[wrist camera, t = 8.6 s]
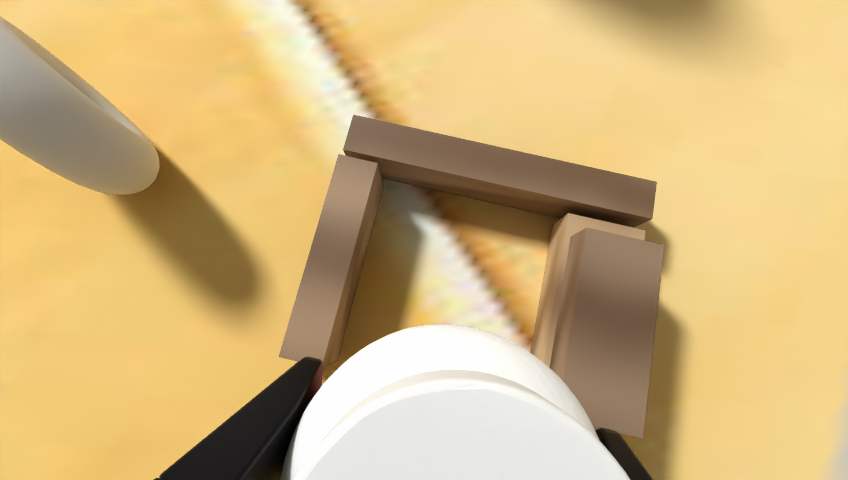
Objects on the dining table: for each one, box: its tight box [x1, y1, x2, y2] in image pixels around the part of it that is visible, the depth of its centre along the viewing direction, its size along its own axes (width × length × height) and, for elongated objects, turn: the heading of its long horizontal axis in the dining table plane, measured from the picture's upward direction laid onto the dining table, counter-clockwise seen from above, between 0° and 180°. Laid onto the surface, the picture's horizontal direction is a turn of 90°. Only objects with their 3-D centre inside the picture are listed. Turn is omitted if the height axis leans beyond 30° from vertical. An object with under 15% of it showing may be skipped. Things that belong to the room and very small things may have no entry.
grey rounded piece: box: [0, 17, 160, 194], centre depth 19 cm, size 10×4×10 cm, turn 48°
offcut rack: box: [279, 115, 665, 439], centre depth 20 cm, size 12×16×4 cm
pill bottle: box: [280, 324, 630, 480], centre depth 10 cm, size 6×6×11 cm
